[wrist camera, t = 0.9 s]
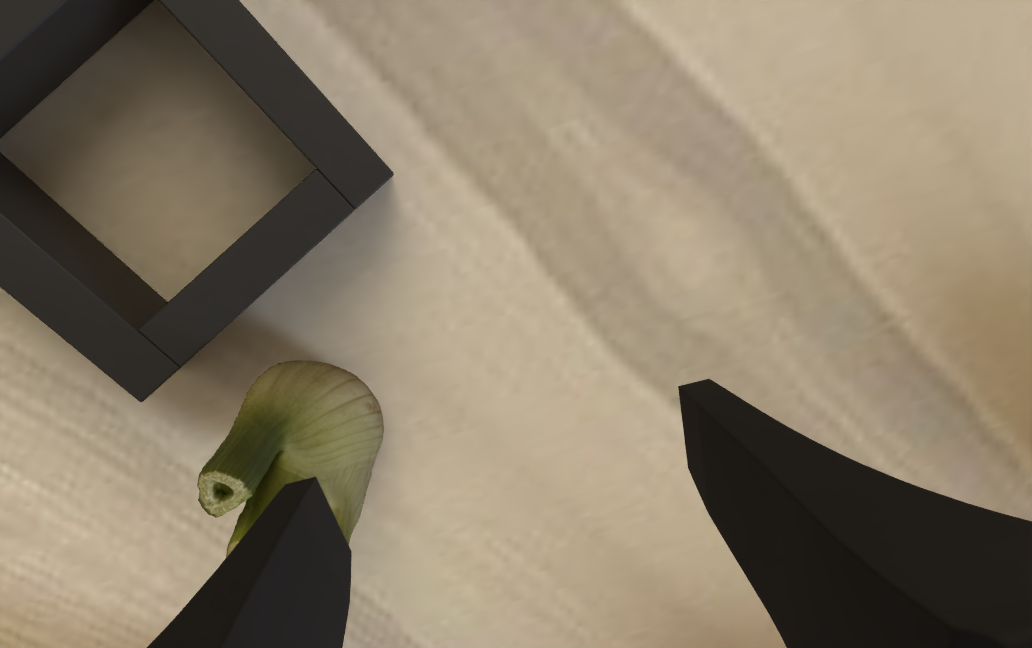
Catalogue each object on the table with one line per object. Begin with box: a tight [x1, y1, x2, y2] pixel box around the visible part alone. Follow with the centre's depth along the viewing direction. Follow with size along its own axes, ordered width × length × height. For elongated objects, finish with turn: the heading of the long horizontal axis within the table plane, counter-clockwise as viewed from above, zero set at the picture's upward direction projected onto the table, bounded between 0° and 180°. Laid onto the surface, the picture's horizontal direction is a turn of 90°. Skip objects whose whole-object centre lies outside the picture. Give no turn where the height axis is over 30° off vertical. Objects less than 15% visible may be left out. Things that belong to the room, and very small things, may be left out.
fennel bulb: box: [198, 361, 384, 558], centre depth 21 cm, size 6×5×12 cm
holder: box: [0, 0, 394, 402], centre depth 22 cm, size 12×12×4 cm
